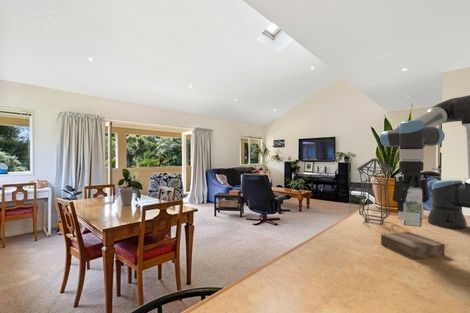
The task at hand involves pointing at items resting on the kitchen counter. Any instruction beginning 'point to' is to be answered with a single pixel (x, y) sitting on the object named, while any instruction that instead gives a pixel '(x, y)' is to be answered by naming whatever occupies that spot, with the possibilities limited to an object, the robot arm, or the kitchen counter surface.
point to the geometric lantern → (374, 184)
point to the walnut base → (412, 245)
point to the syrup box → (413, 207)
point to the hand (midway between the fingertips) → (410, 218)
